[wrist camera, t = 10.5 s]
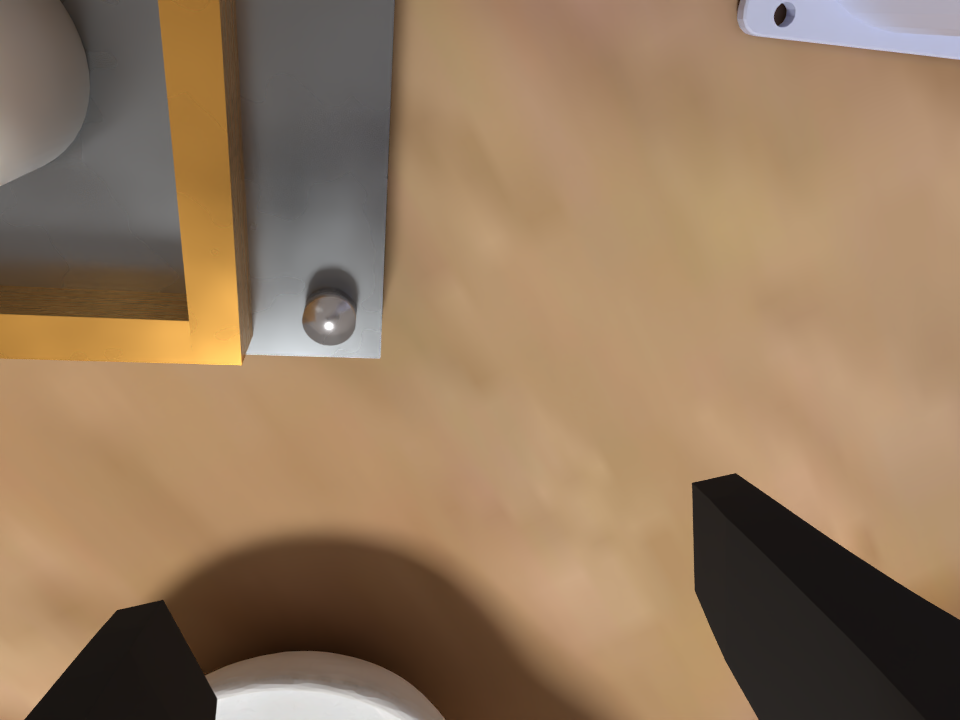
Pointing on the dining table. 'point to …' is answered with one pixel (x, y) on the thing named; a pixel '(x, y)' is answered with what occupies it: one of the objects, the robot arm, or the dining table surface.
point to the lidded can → (39, 84)
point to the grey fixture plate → (209, 188)
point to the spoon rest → (315, 690)
